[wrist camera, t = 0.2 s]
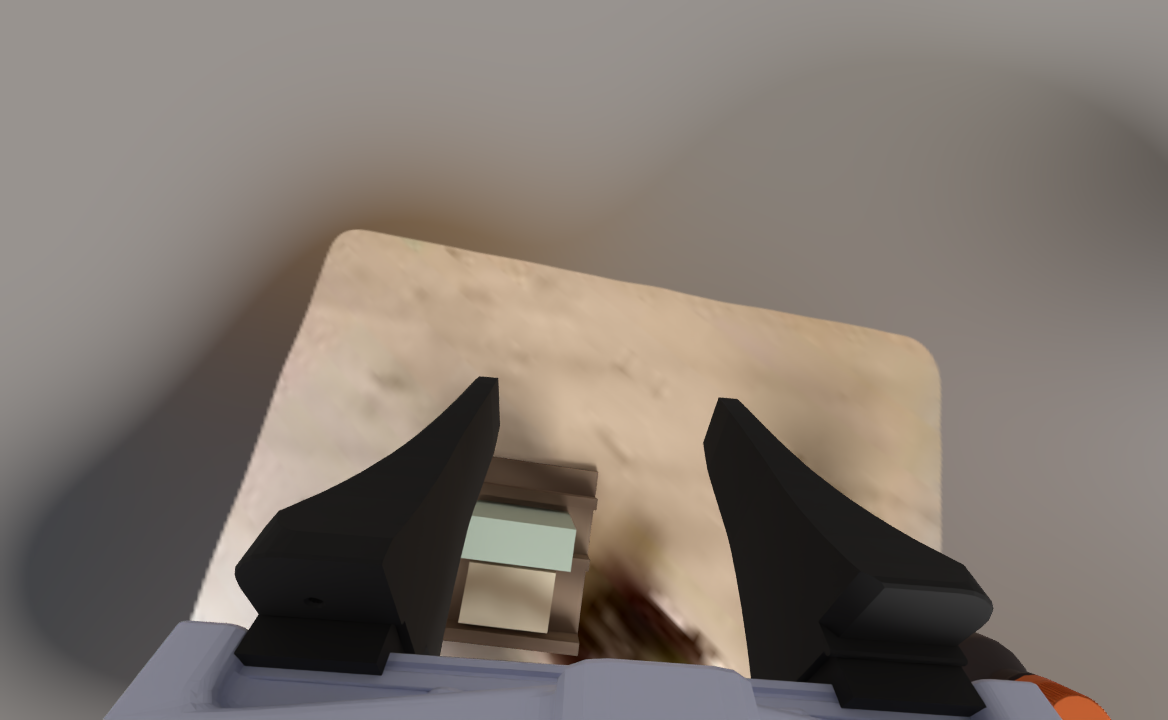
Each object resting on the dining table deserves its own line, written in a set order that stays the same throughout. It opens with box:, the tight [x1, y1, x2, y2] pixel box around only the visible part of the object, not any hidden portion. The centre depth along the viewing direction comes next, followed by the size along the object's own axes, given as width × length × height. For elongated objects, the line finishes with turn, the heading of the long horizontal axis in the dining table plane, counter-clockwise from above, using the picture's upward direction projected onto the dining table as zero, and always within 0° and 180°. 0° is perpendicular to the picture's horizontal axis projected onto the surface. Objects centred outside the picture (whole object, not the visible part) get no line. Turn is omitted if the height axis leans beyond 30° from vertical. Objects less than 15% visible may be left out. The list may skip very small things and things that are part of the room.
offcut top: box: [458, 560, 556, 633], centre depth 38 cm, size 5×8×1 cm, turn 82°
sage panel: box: [461, 500, 576, 572], centre depth 36 cm, size 3×9×10 cm, turn 82°
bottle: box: [958, 632, 1111, 720], centre depth 33 cm, size 7×7×20 cm
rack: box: [443, 457, 598, 656], centre depth 40 cm, size 16×14×3 cm
